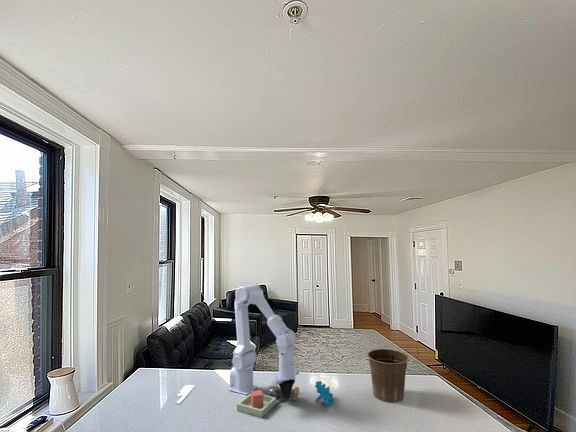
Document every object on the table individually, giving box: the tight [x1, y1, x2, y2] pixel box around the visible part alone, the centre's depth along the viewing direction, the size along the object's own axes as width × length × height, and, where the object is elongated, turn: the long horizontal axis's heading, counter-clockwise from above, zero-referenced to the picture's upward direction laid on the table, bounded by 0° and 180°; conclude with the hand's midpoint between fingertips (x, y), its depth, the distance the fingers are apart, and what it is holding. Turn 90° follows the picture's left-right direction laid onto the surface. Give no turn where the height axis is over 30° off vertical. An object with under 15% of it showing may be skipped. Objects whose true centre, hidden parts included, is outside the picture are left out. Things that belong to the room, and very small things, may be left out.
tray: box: [236, 392, 277, 419], centre depth 128 cm, size 11×11×2 cm
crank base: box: [267, 393, 284, 405], centre depth 137 cm, size 6×10×1 cm, turn 153°
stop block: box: [250, 389, 264, 409], centre depth 128 cm, size 4×4×5 cm
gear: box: [314, 380, 335, 407], centre depth 133 cm, size 11×6×10 cm
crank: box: [268, 385, 300, 402], centre depth 135 cm, size 12×5×3 cm, turn 83°
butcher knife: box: [175, 384, 196, 405], centre depth 138 cm, size 5×15×1 cm, turn 173°
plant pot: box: [366, 348, 410, 403], centre depth 139 cm, size 16×16×16 cm
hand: (286, 398), depth 132 cm, fingers closed
